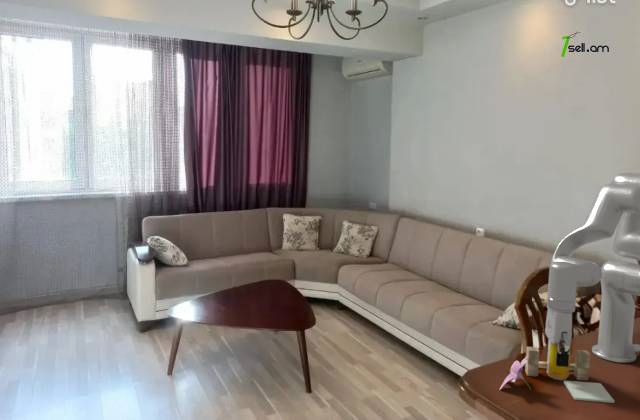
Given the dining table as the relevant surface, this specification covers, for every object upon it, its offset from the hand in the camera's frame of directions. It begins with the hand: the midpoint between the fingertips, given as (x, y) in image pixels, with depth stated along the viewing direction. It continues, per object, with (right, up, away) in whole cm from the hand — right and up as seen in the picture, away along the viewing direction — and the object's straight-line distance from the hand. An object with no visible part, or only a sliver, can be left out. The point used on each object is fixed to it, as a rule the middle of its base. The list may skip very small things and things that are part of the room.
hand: (557, 358), depth 150 cm
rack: (0, -5, +3) cm, 6 cm away
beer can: (0, -6, +1) cm, 6 cm away
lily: (-15, -7, -6) cm, 17 cm away
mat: (+4, -7, -9) cm, 12 cm away
